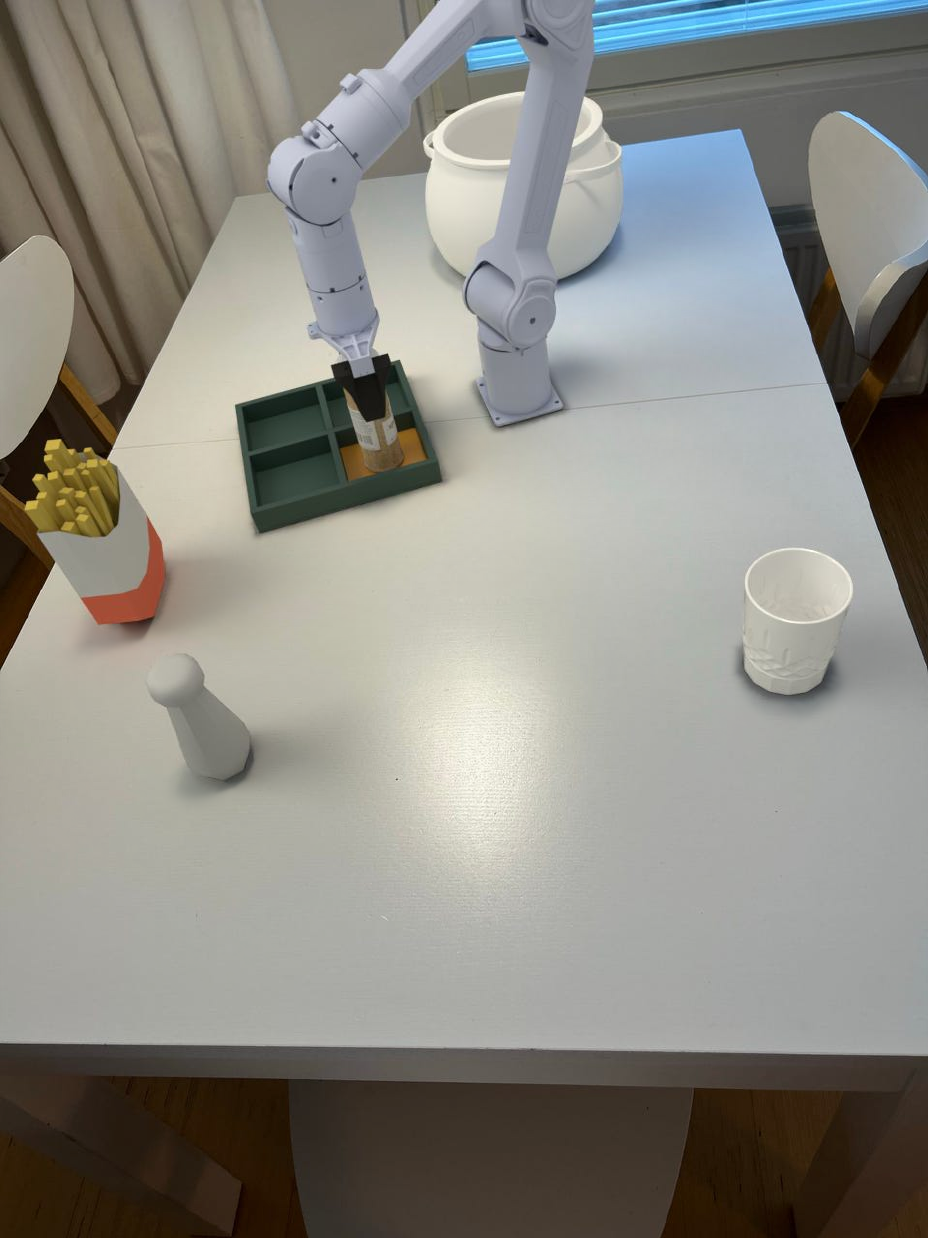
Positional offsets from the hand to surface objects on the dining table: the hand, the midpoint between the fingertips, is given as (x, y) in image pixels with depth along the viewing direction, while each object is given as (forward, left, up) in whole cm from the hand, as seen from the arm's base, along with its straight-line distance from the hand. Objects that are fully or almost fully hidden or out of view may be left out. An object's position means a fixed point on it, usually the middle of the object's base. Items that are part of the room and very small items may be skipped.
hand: (368, 397), depth 98 cm
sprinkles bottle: (0, 0, -9) cm, 9 cm away
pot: (-38, +28, -9) cm, 48 cm away
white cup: (+40, +27, -9) cm, 49 cm away
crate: (-5, -5, -9) cm, 12 cm away
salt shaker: (+33, -21, -9) cm, 40 cm away
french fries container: (+10, -28, -9) cm, 31 cm away
